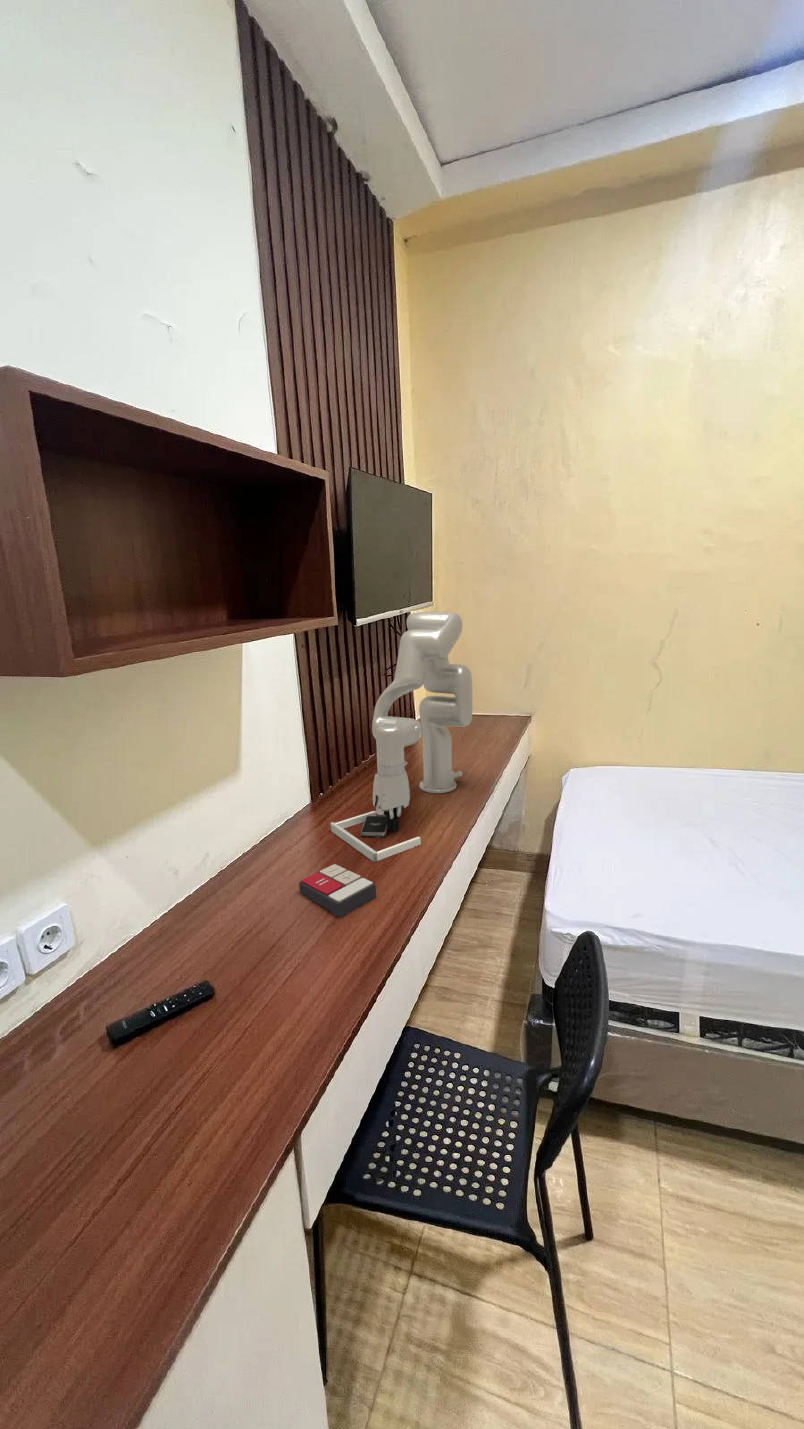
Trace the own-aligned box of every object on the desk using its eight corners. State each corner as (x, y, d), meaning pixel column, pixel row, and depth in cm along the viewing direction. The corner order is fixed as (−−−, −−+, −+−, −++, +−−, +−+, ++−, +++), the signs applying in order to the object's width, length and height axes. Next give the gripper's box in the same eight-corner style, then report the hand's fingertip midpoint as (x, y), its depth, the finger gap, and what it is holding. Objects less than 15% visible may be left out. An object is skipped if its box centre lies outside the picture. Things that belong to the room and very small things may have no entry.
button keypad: (334, 861, 138) (376, 880, 128) (336, 877, 139) (377, 897, 129) (297, 879, 131) (338, 900, 120) (299, 896, 132) (340, 918, 121)
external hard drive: (360, 838, 158) (360, 832, 157) (367, 821, 169) (366, 815, 168) (385, 839, 157) (385, 832, 157) (390, 822, 168) (389, 815, 167)
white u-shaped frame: (374, 816, 171) (374, 809, 170) (420, 844, 152) (420, 836, 152) (330, 830, 162) (330, 822, 162) (374, 862, 144) (373, 853, 143)
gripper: (404, 759, 163) (406, 817, 168) (360, 770, 155) (364, 832, 160) (420, 765, 157) (422, 826, 162) (375, 778, 149) (378, 841, 154)
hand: (393, 829), depth 161 cm, fingers closed
